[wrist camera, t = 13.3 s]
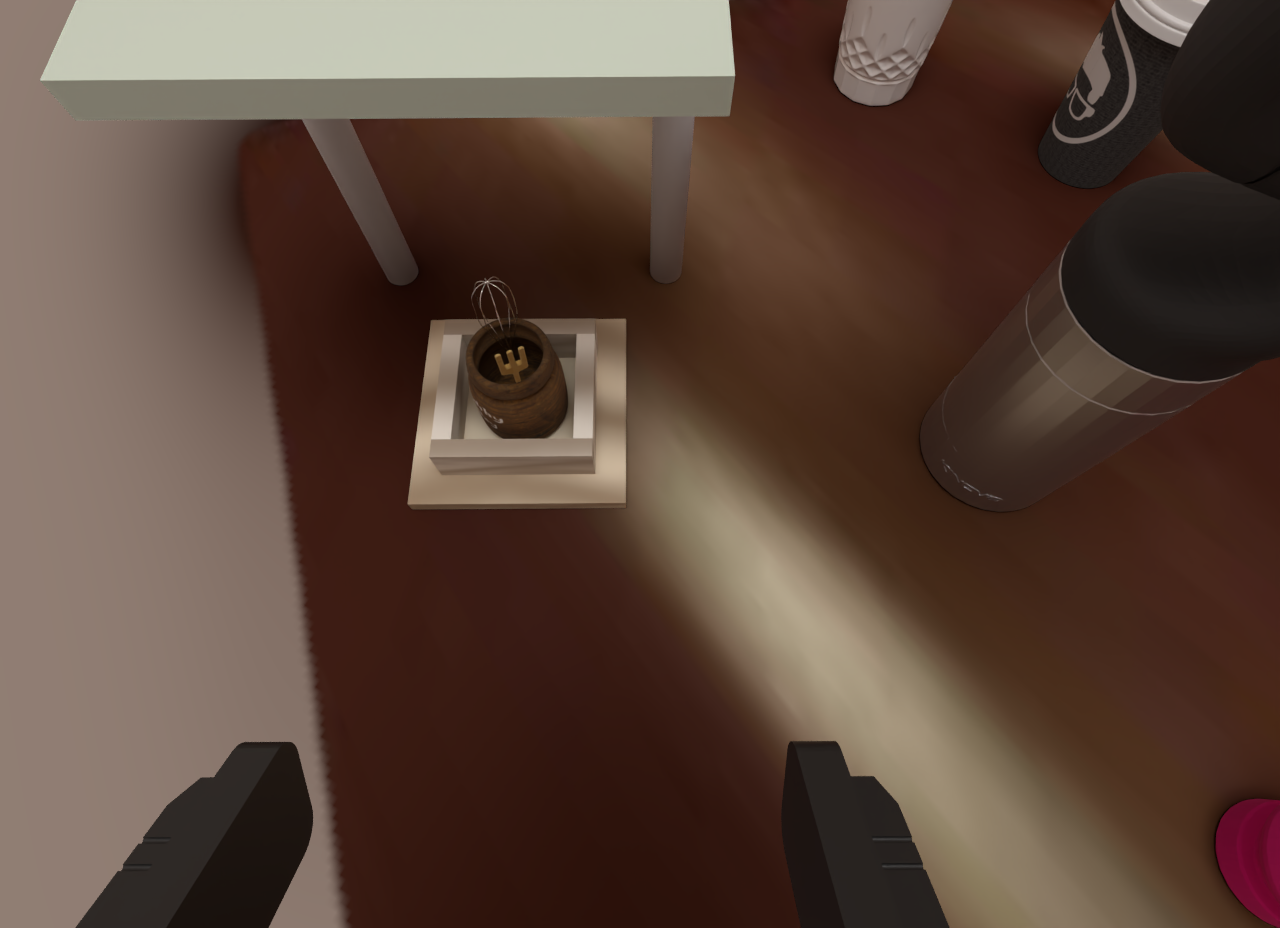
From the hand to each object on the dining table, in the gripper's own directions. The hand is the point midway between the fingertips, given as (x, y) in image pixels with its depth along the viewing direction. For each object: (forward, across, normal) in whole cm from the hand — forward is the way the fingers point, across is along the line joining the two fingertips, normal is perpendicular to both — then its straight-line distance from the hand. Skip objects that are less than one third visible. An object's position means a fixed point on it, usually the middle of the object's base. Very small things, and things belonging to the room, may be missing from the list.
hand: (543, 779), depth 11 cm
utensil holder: (+37, +6, +6) cm, 38 cm away
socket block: (+37, +6, +6) cm, 38 cm away
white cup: (+60, -22, -17) cm, 66 cm away
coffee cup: (+54, -38, -10) cm, 66 cm away
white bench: (+41, +6, +2) cm, 42 cm away
